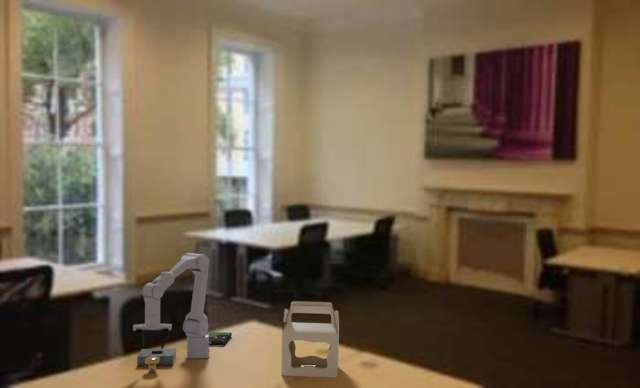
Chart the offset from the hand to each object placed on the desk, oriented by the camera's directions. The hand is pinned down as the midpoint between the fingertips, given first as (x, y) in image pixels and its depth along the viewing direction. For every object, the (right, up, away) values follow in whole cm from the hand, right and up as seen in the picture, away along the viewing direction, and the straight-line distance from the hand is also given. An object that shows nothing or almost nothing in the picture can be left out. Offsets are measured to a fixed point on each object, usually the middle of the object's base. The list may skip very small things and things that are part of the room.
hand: (152, 348), depth 232 cm
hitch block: (-2, -9, +12) cm, 15 cm away
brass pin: (0, -9, 0) cm, 9 cm away
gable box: (+62, -11, +4) cm, 63 cm away
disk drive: (+18, -9, +44) cm, 48 cm away
